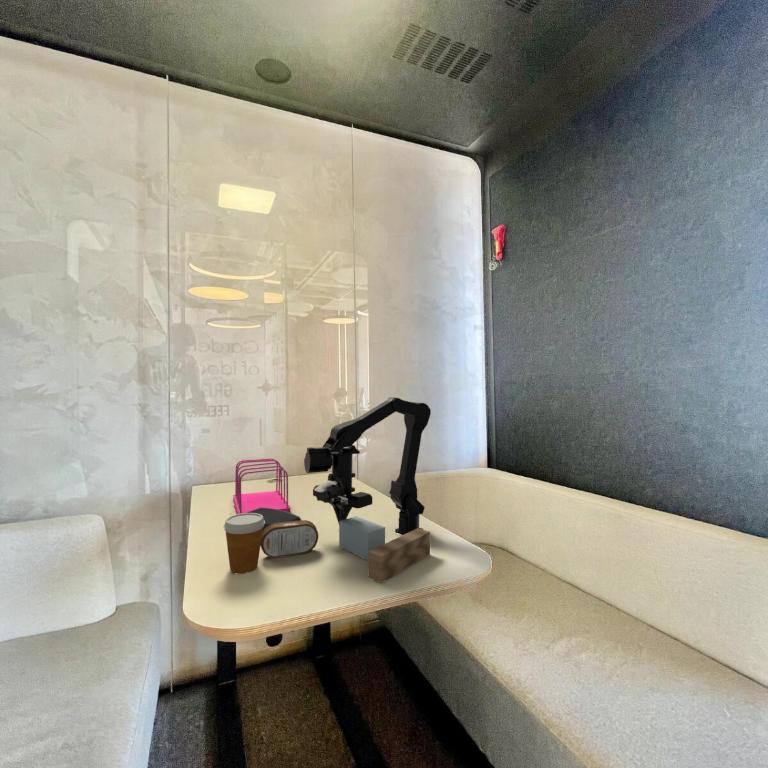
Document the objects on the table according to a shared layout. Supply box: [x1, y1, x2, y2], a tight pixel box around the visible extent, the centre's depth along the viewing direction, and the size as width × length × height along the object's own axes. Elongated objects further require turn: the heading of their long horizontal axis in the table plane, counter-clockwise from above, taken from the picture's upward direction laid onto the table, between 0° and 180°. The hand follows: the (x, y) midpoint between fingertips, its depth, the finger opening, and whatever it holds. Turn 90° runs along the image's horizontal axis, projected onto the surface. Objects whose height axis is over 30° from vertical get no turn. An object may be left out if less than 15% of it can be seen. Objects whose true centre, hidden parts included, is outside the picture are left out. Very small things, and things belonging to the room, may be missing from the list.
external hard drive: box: [247, 507, 302, 532], centre depth 124 cm, size 13×19×4 cm
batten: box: [367, 527, 431, 584], centre depth 98 cm, size 20×4×6 cm, turn 140°
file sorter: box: [232, 458, 292, 514], centre depth 146 cm, size 17×25×16 cm
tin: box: [260, 519, 319, 559], centre depth 104 cm, size 15×3×8 cm, turn 113°
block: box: [338, 516, 386, 561], centre depth 107 cm, size 6×12×7 cm, turn 44°
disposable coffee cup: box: [222, 513, 265, 575], centre depth 96 cm, size 10×10×12 cm
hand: (341, 525), depth 112 cm, fingers closed
